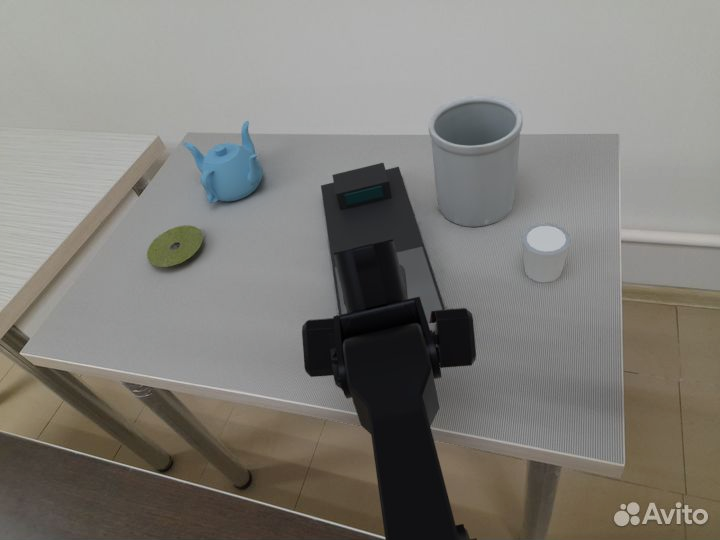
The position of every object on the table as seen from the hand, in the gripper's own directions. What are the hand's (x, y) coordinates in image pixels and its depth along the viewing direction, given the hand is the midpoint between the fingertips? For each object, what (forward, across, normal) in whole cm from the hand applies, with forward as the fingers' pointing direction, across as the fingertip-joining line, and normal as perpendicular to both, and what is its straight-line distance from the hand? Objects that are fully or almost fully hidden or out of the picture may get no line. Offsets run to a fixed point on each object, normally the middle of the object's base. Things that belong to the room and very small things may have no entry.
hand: (388, 335), depth 66 cm
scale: (+24, +1, -11) cm, 26 cm away
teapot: (+46, +30, -31) cm, 63 cm away
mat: (+34, +40, -16) cm, 55 cm away
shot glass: (+18, -25, -7) cm, 32 cm away
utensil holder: (+30, -18, -20) cm, 41 cm away
